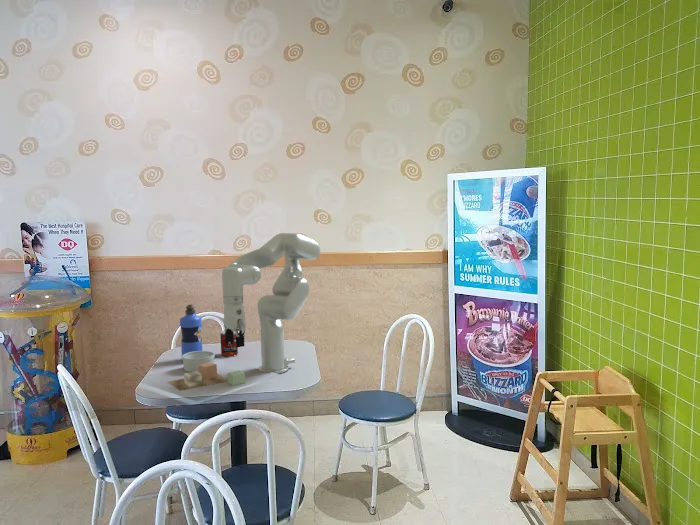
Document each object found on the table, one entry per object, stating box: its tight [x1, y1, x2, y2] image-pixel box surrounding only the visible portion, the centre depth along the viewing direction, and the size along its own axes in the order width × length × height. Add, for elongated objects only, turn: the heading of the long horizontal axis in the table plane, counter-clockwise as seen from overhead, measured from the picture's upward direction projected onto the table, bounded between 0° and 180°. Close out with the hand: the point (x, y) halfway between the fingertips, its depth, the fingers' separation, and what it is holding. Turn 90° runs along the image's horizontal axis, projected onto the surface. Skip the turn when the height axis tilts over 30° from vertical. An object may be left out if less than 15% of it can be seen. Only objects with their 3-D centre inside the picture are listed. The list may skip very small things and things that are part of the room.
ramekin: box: [181, 350, 215, 373], centre depth 251 cm, size 13×13×7 cm
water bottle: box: [179, 304, 204, 362], centre depth 267 cm, size 9×9×25 cm
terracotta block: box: [198, 362, 218, 380], centre depth 237 cm, size 5×5×5 cm
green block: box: [226, 370, 246, 386], centre depth 230 cm, size 5×5×5 cm
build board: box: [167, 371, 228, 391], centre depth 232 cm, size 20×14×5 cm
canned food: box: [219, 329, 239, 357], centre depth 276 cm, size 8×8×11 cm
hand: (234, 344), depth 229 cm, fingers open, 9 cm apart
